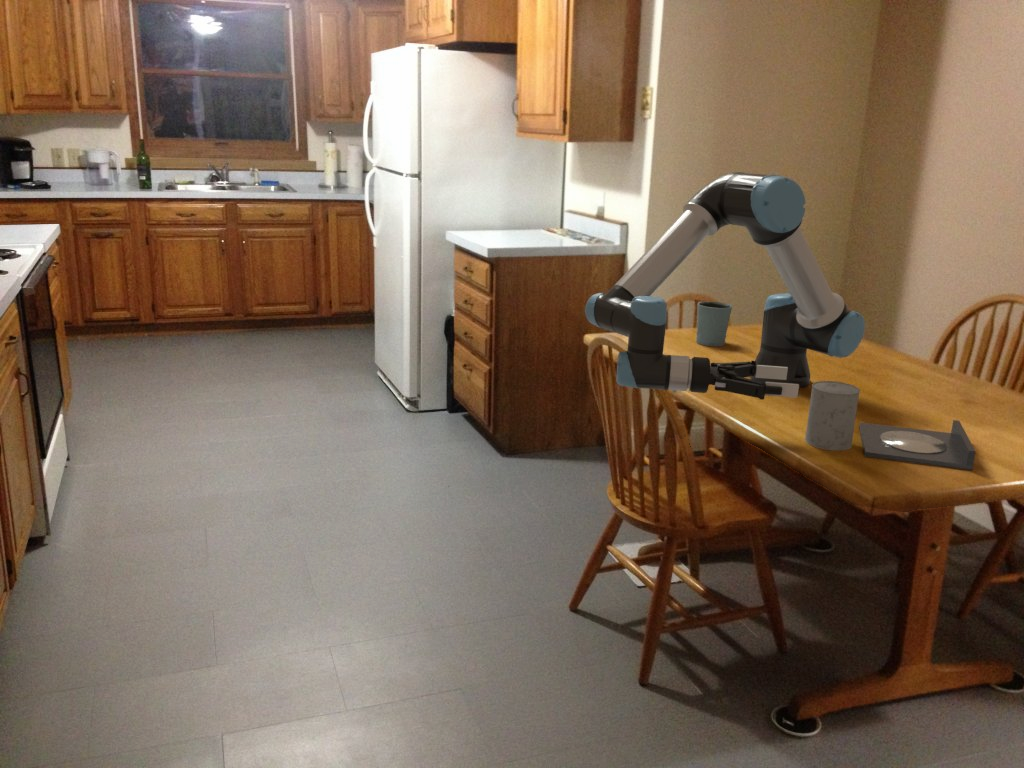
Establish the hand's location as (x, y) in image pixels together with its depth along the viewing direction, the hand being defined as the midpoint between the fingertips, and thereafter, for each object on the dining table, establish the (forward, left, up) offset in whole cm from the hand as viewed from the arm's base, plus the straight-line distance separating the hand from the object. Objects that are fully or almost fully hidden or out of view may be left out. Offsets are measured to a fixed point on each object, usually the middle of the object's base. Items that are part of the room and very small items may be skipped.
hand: (792, 381), depth 186 cm
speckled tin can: (-2, +9, -13) cm, 16 cm away
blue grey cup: (-83, -23, -13) cm, 87 cm away
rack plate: (-6, +26, -13) cm, 29 cm away
